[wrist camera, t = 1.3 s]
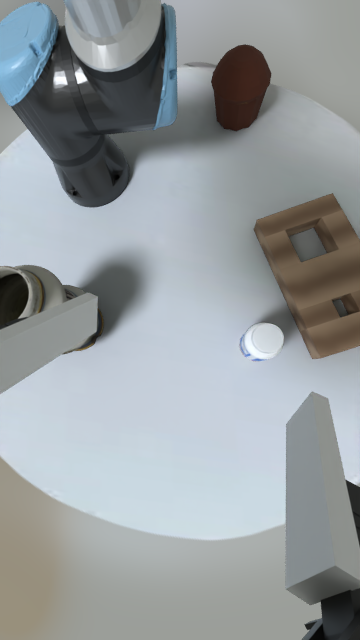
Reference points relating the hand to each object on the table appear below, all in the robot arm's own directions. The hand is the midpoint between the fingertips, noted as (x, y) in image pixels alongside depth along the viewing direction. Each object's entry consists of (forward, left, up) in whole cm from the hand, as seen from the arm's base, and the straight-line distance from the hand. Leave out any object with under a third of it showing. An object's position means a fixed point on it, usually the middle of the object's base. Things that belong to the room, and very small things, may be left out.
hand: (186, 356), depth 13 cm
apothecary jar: (-14, -20, -28) cm, 37 cm away
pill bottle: (0, +10, -28) cm, 29 cm away
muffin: (-49, +25, -28) cm, 62 cm away
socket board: (-8, +25, -27) cm, 38 cm away
